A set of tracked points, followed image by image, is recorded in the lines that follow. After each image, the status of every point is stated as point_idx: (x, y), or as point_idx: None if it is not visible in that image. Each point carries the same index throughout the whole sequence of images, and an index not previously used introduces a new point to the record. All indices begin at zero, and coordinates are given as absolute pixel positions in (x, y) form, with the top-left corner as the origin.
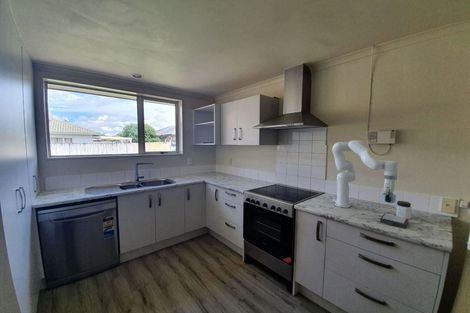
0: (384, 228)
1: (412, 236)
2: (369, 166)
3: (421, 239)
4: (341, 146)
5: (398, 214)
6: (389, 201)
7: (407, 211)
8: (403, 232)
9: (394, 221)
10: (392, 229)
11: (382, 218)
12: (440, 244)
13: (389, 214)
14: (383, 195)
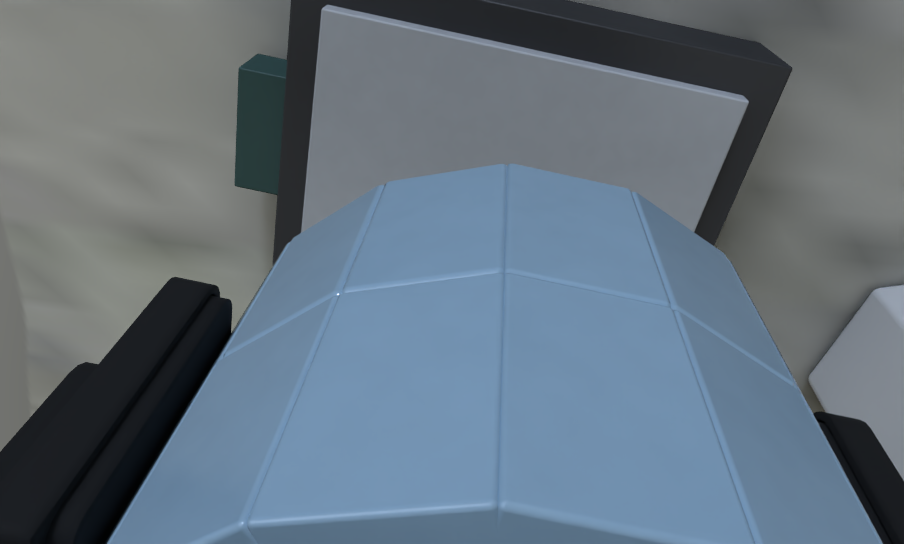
0: (14, 15)
1: (42, 345)
2: None
3: (32, 410)
4: None
5: (896, 331)
6: None
7: None
8: (96, 270)
9: (298, 220)
10: (88, 140)
11: (322, 4)
12: None
13: (698, 175)
14: (263, 424)
